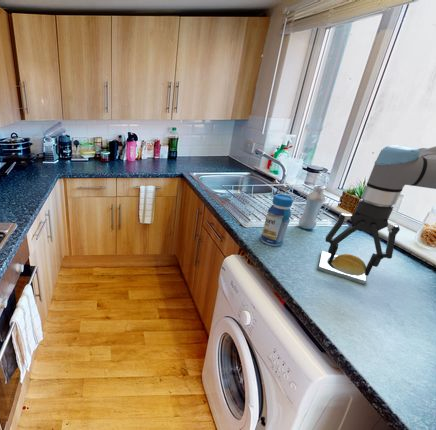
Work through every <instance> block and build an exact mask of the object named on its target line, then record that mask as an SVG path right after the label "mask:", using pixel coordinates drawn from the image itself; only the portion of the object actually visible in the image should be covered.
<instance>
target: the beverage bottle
mask: <svg viewBox="0 0 436 430" xmlns="http://www.w3.org/2000/svg"><path fill="white" fill-rule="evenodd" d="M272 198H273V199H272V205H271V206H269V208H268V209H267V214H266V215H265V220H264V224H263V229H262V233H261V235H260V240H261V242H263V243H264V244H266V245H269V246H273V247H279V246H281V245H282V244H283V243H284V238H285V235H286V232H287V229H288V226H289V224H290V221H291V219H290V217H292V210H291V207H292V206H293V203H294V198H293V196H291V195H288V194H284V193H276V194H274V196H273V197H272Z"/></svg>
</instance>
